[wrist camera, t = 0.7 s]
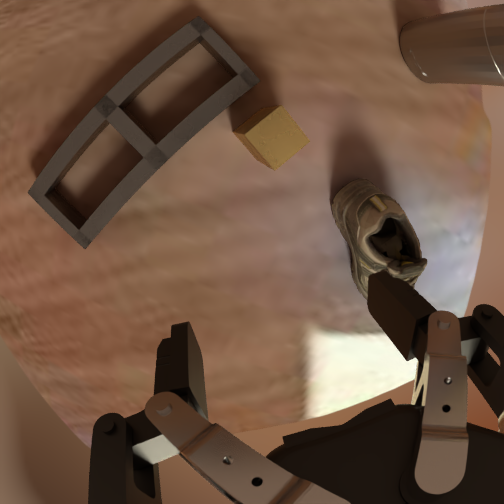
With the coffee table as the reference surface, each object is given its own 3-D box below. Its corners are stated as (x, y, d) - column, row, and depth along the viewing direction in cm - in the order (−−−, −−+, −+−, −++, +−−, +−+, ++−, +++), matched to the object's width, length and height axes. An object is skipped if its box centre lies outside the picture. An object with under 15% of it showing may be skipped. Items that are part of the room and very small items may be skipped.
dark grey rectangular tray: (197, 25, 24) (198, 15, 21) (254, 84, 28) (260, 80, 25) (39, 186, 27) (27, 192, 24) (92, 238, 31) (85, 249, 28)
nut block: (261, 108, 29) (281, 104, 23) (285, 136, 31) (310, 141, 24) (232, 132, 29) (244, 134, 23) (257, 160, 31) (275, 170, 25)
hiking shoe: (365, 328, 42) (436, 343, 32) (297, 212, 35) (385, 200, 25) (392, 285, 46) (457, 290, 35) (337, 172, 38) (414, 154, 28)
